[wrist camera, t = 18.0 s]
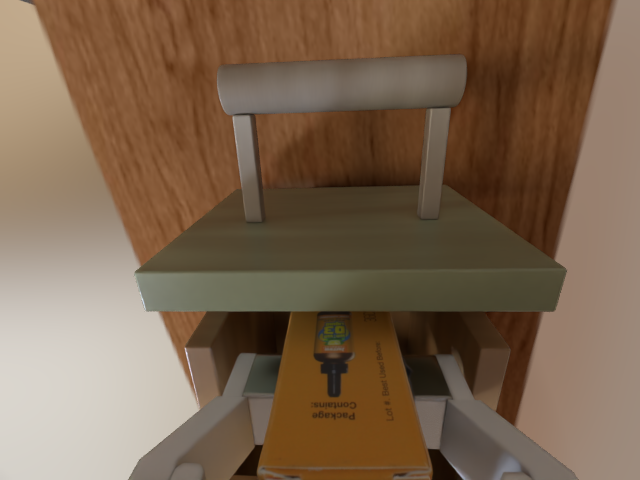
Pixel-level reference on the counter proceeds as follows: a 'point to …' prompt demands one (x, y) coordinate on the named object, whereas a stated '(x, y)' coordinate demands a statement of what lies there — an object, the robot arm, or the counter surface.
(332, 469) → the supplement box
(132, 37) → the counter surface
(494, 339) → the drawer
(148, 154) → the counter surface
